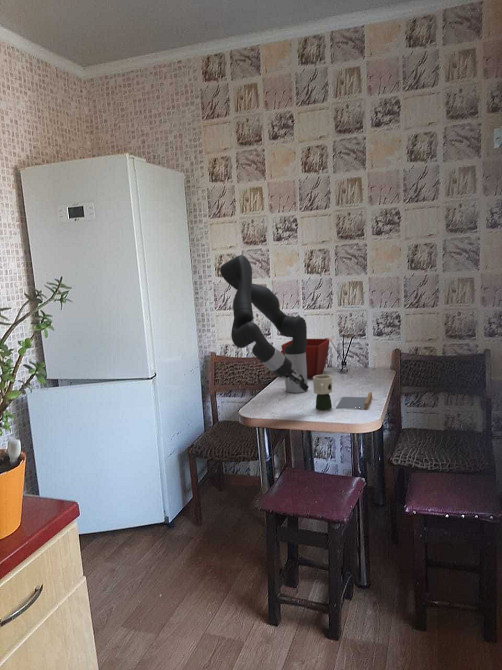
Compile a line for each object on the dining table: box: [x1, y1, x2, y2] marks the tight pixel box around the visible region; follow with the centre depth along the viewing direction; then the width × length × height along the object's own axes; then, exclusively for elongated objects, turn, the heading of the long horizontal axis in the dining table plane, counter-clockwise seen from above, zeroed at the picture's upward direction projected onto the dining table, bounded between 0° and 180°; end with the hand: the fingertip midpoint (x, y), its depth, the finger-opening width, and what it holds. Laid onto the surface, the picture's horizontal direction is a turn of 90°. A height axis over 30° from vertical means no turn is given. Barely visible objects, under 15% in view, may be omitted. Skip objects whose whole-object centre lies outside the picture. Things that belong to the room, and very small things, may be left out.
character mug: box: [312, 374, 333, 411], centre depth 208 cm, size 11×7×13 cm, turn 169°
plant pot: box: [281, 338, 330, 379], centre depth 267 cm, size 19×19×17 cm
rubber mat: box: [335, 391, 373, 410], centre depth 214 cm, size 12×16×2 cm
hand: (306, 388), depth 204 cm, fingers closed
